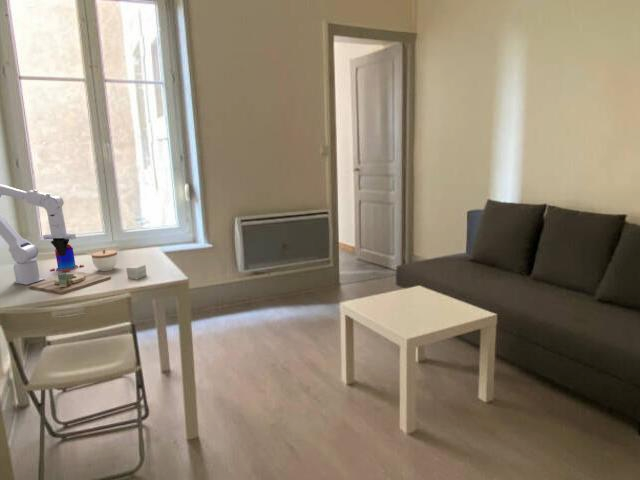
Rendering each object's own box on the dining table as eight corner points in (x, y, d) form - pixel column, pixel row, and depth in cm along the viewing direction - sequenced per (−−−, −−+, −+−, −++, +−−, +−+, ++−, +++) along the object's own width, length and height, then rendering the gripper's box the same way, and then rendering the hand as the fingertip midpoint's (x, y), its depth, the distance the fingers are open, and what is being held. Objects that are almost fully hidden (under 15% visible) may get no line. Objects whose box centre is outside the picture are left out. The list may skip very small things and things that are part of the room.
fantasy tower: (65, 273, 208) (61, 247, 206) (46, 271, 212) (42, 246, 210) (86, 266, 219) (83, 241, 217) (68, 264, 223) (64, 240, 221)
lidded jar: (88, 271, 209) (85, 251, 207) (107, 265, 219) (104, 246, 217) (106, 273, 205) (103, 252, 203) (124, 266, 215) (121, 247, 213)
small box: (137, 274, 200) (135, 264, 199) (147, 275, 198) (145, 264, 197) (127, 278, 195) (125, 267, 194) (137, 279, 193) (136, 268, 192)
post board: (28, 287, 187) (26, 278, 186) (78, 273, 206) (76, 265, 205) (62, 294, 177) (60, 284, 176) (111, 278, 196) (109, 269, 195)
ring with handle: (60, 277, 195) (58, 266, 194) (88, 275, 197) (86, 264, 196) (47, 288, 181) (45, 276, 180) (77, 285, 183) (75, 273, 182)
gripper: (35, 226, 191) (41, 258, 193) (64, 225, 187) (70, 258, 190) (48, 223, 197) (54, 254, 200) (77, 222, 194) (82, 253, 197)
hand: (62, 255), depth 195 cm, fingers closed
